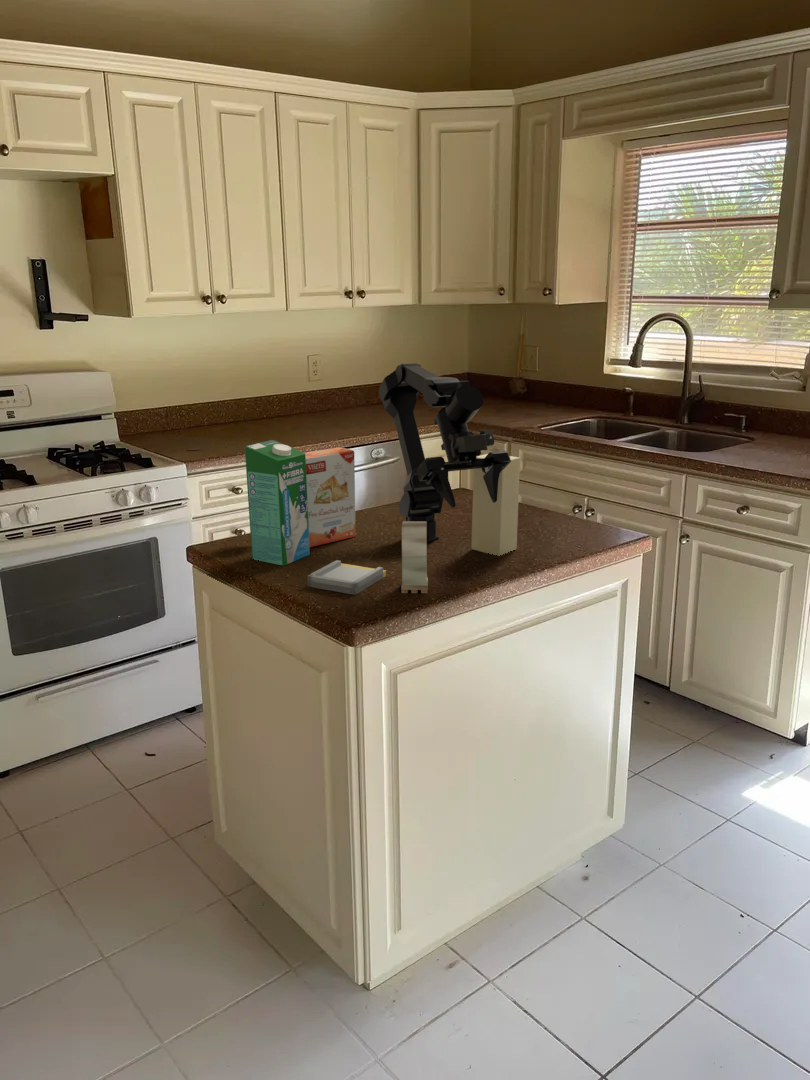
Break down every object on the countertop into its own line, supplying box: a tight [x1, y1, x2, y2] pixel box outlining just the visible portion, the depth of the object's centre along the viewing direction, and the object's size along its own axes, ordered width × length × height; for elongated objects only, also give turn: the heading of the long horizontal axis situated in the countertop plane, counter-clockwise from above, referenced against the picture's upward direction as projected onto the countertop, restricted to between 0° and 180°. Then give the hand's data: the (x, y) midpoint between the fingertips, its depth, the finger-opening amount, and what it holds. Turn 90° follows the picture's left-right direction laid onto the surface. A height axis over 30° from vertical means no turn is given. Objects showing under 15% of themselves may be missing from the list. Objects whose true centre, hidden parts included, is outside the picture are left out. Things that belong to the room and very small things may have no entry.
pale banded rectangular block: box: [400, 520, 429, 594], centre depth 166 cm, size 5×5×13 cm
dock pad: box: [306, 559, 387, 596], centre depth 172 cm, size 12×11×2 cm
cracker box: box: [304, 446, 356, 548], centre depth 196 cm, size 14×6×21 cm, turn 131°
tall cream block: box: [471, 453, 521, 557], centre depth 188 cm, size 8×7×21 cm
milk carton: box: [244, 439, 311, 567], centre depth 184 cm, size 9×9×25 cm
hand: (474, 504), depth 171 cm, fingers open, 9 cm apart
